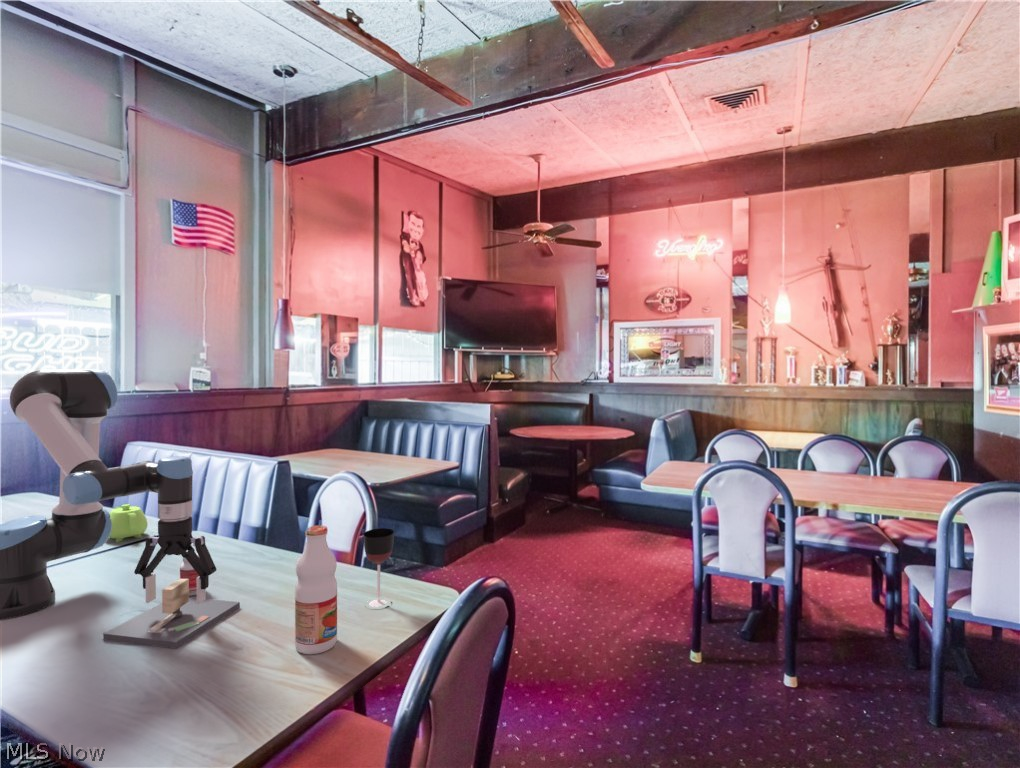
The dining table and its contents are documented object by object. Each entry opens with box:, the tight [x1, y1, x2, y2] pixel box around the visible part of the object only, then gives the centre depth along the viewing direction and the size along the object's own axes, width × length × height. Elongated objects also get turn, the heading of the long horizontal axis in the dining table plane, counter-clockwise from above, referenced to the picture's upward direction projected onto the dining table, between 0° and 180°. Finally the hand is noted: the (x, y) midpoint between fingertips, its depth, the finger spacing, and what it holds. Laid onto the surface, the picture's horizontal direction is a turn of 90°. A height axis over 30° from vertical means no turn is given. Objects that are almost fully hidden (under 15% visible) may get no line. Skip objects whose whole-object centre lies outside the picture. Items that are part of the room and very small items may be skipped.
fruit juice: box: [294, 525, 338, 655], centre depth 127 cm, size 9×9×28 cm
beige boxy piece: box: [150, 578, 190, 632], centre depth 135 cm, size 12×3×8 cm, turn 0°
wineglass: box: [363, 527, 395, 607], centre depth 150 cm, size 8×9×20 cm
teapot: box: [109, 503, 148, 543], centre depth 206 cm, size 20×13×13 cm
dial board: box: [102, 596, 241, 649], centre depth 138 cm, size 20×22×2 cm
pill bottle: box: [179, 551, 199, 597], centre depth 156 cm, size 6×6×11 cm
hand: (175, 601), depth 138 cm, fingers open, 12 cm apart
